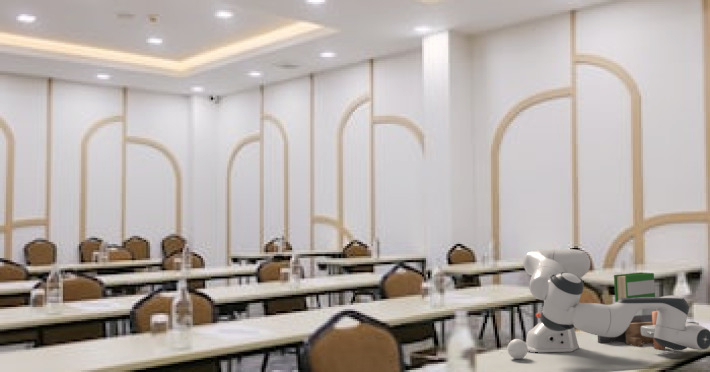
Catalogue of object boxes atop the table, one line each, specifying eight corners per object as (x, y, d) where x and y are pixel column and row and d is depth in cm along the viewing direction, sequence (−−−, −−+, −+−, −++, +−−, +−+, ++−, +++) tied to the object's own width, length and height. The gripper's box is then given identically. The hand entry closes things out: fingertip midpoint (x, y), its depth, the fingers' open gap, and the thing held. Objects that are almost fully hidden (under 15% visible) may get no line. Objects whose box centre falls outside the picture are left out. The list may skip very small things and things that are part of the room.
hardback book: (629, 329, 326) (626, 275, 327) (616, 327, 332) (613, 275, 333) (656, 325, 334) (653, 273, 335) (643, 323, 340) (640, 272, 341)
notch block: (635, 346, 286) (634, 325, 286) (626, 343, 292) (625, 323, 293) (663, 344, 287) (662, 324, 288) (653, 341, 294) (652, 321, 295)
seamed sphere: (525, 356, 273) (524, 336, 274) (530, 360, 266) (529, 340, 266) (498, 357, 273) (497, 338, 273) (503, 361, 266) (502, 341, 266)
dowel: (657, 349, 277) (655, 312, 278) (651, 347, 281) (649, 311, 282) (667, 349, 278) (665, 312, 278) (661, 347, 282) (659, 310, 282)
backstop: (600, 343, 295) (599, 318, 295) (597, 342, 297) (596, 317, 297) (668, 338, 300) (667, 314, 300) (665, 337, 302) (664, 313, 302)
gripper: (652, 342, 265) (632, 336, 279) (703, 339, 269) (681, 333, 282) (651, 325, 266) (631, 320, 279) (702, 322, 269) (680, 317, 282)
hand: (657, 327), depth 281 cm, fingers open, 7 cm apart
